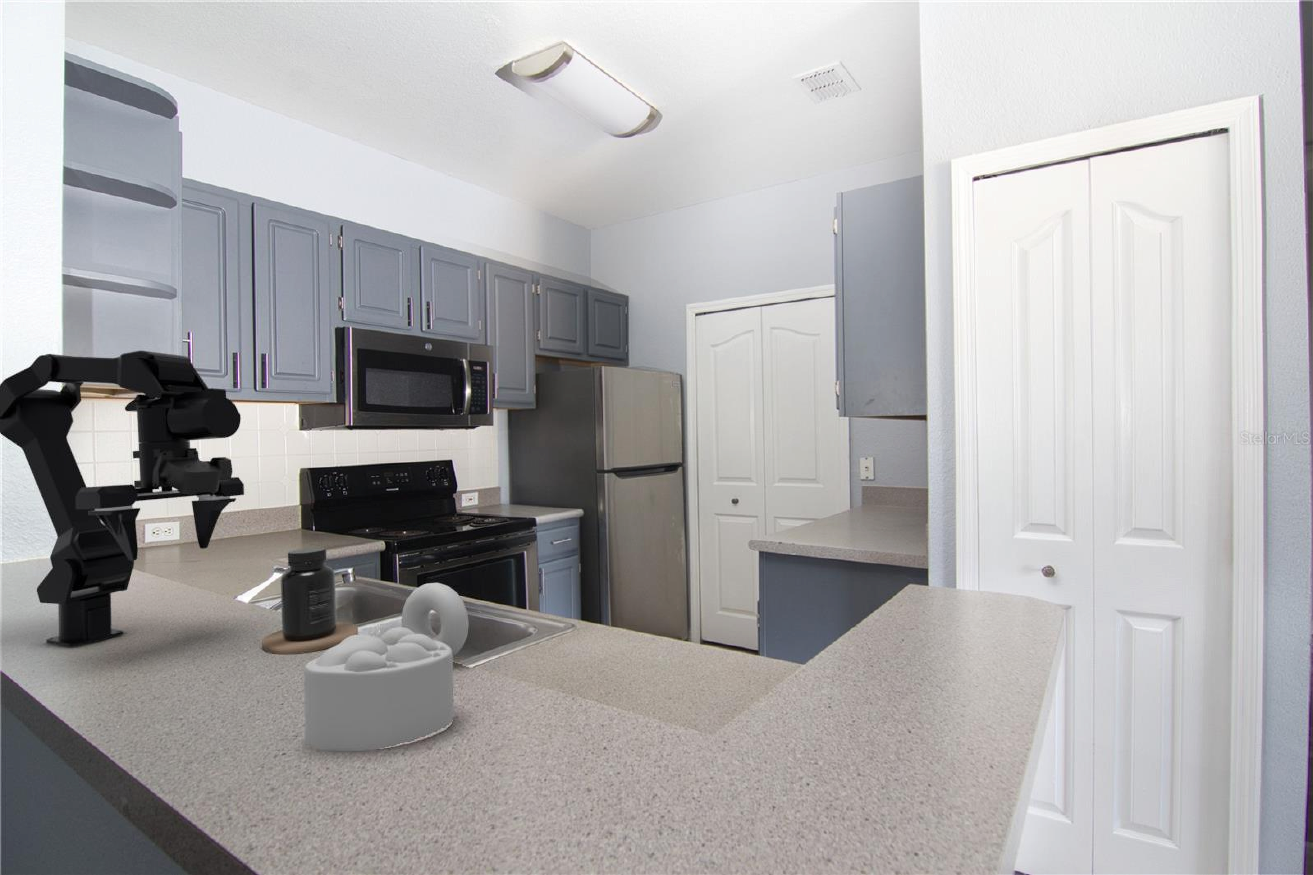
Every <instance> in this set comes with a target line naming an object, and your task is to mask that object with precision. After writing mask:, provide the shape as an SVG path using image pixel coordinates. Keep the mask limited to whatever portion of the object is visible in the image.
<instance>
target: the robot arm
mask: <svg viewBox="0 0 1313 875" xmlns="http://www.w3.org/2000/svg"><path fill="white" fill-rule="evenodd" d="M191 361H192V360H191V359H190V358H189V357H188V356H185V355H180V354H179V355H178V354H172V353H171V354H170V353H163V352H156V351H148V350H137V351H136V350H135V351H130V352H129V351H128V352H126V353H121V354H120V356H117V357H93V356H92V357H91V356H74V355H73V356H72V355H63V354H53V353H47V354H42V355H38V357H36V359H35V360H34V361H33V362H32V364H30V366H28V367H26V368H25V369H22V370H20V371H19V372H17V373H14V374H13V375H11V376H9V377H7V378H5V379H3V380H2V382H1V383H0V435H1V436H3V437H4V438H6V439H7V440H9V441H11V442H12V443H13V444H15V445H16V446H18V447H19V448H20V449H21V450H22V451H23V454H24V457H25V459H26V461H27V463H28V466H29V468H30V471H31V474H32V476H33V478H34V481H35V483H36V486H37V488H38V491H39V494H40V495H41V498H42V500H43V503H44V505H45V508H46V510H47V513H48V516H49V518H50V521H51V523H52V526H53V528H54V531H55V532H56V536H57V538H56V541H55V543H54V546H53V548H52V551H51V554H50V556H49V560H50V562H51V567H52V568H51V569H50V571H49V572H48V573H47V574H46V576H45V577H44V578H43V580H41V582H40V583H39V585H38V586H37V587H36V593H37V596H38V600H39V602H40V603H41V604H56V605H57V606H58V608H57V611H58V636H53V637H50V638H49V637H48V638H46V639H45V642H46V644H53V645H59V646H63V647H69V648H72V647H77V646H80V645H86V644H89V643H94V642H98V641H102V640H105V639H109V638H113V637H117V636H122V635H123V634H124V630H122V629H115V628H112V593H117V592H124V591H127V590H128V587H129V584H130V580H131V577H132V574H133V570H134V566H135V561H137V559H138V550H139V549H138V535H137V525H136V521H137V517H138V515H139V514H140V511H141V507H137V508H136V507H135V508H134V507H133V505H134V504H135V503H136V502H142V501H153V500H155V501H156V500H164V499H165V500H166V499H174V498H176V499H177V498H185V497H197V498H198V500H191V506H192V513H193V520H194V526H195V532H196V539H197V543H198V546H199V549H207V548H208V547H209V545H210V541H211V538H212V535H213V533H214V530H215V529H216V528H215V527H216V525H217V523H218V519H219V517H220V516H221V514H222V512H223V510H225V508H226V507H227V506H228V505H229V504H231V503H234V502H235V503H236V501H237V498H236V496H244V495H245V484H244V483H243V481H242V480H241V478H240V477H238V476H235V477H234V476H233V466H232V459H230V458H228V457H226V456H221V457H220V456H217V457H212V458H211V459H210V460H200V458H199V452H198V450H197V448H196V447H195V448H194V447H191V441H199V440H200V441H202V440H212V439H213V440H214V439H215V440H216V439H225V438H229V437H232V436H233V435H235V433H237V431H238V430H239V428H240V425H241V413H240V412H239V411H238V410H239V409H238V408H237V406H236V404H235V403H234V402H233V401H232V400H231V399H229V398H228V397H227V390H226V389H224V388H213V387H212V388H209V387H208V385H207V384H206V382H205V381H204V379H203V378H202V377H201V376H200V373H198V371H197V370H196V369H195V367H194V366H193V362H191ZM48 383H61V384H63V383H64V384H65V385H64V386H63V387H62V389H61V390H60V391H58V390H55V389H44V388H43V387H45V386H47V384H48ZM84 383H86V384H87V383H93V384H109V385H110V384H111V385H117V386H119V387H120V388H122V389H124V390H129V391H132V392H134V393H135V392H136V393H139V394H136V396H135V398H134V399H133V400H131V401H129V402H128V403H127V404H126V405H125V407H124V411H126V412H133V413H134V412H136V418H137V438H138V439H137V440H138V450H133V451H132V459H138V462H139V464H138V465H139V480H134V482H133V483H134V484H117V485H100V486H99V485H98V486H87V485H86V483H85V480H84V477H83V474H82V472H81V470H80V468H79V465H78V463H77V461H76V458H75V456H74V453H73V451H72V448H71V446H70V443H69V441H68V435H69V432H70V430H71V428H72V426H73V423H74V417H73V411H74V410H75V409H76V408H77V407H78V405H80V403H81V401H82V393H81V386H82V385H83V384H84ZM41 388H43V389H41ZM232 476H233V477H232ZM160 488H161V490H160ZM173 488H174V490H173ZM154 490H158V491H154ZM159 490H160V491H159ZM232 497H233V498H232Z"/></svg>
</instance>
